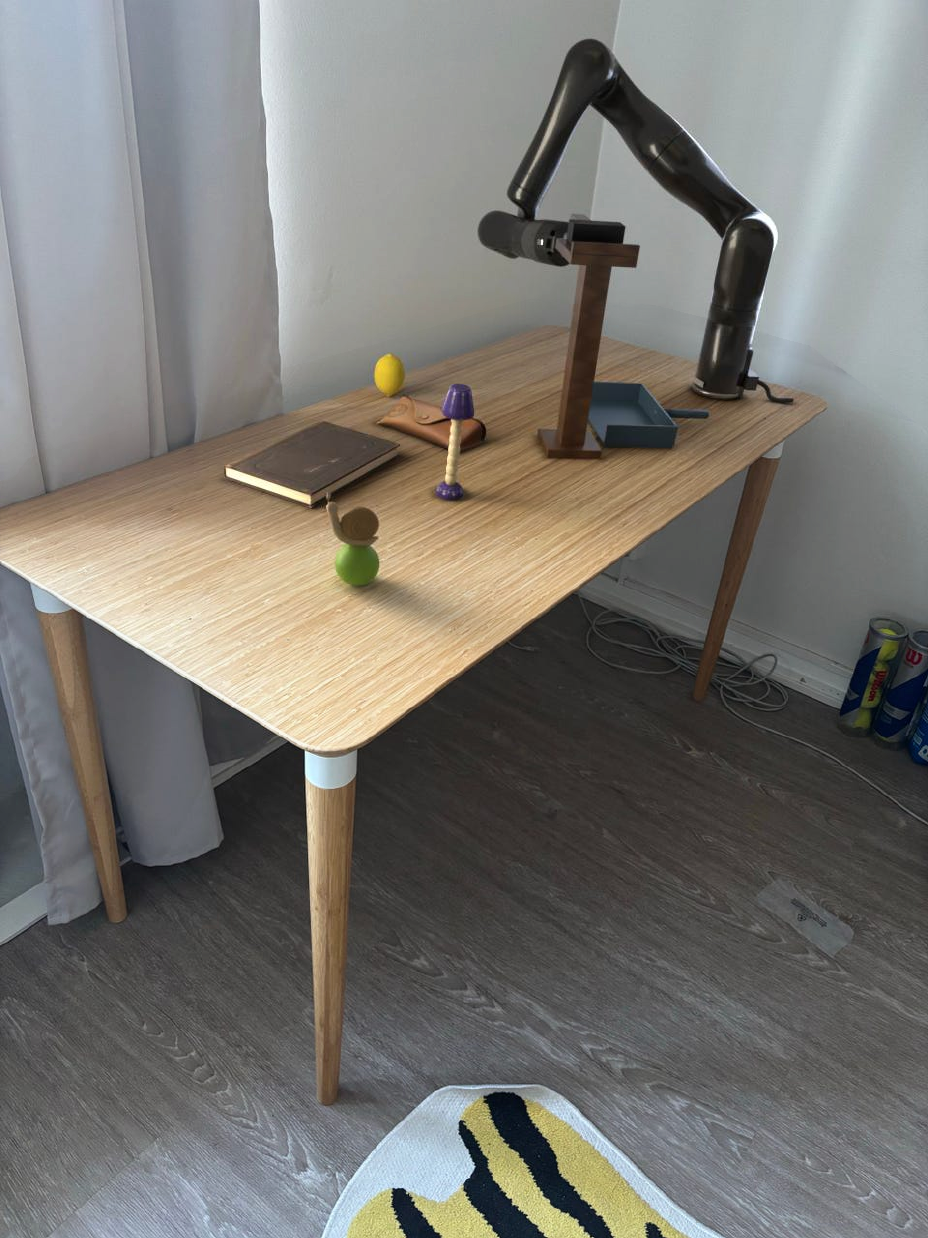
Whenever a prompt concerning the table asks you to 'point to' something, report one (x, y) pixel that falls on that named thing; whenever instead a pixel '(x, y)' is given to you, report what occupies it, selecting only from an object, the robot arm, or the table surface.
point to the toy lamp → (455, 437)
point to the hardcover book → (313, 463)
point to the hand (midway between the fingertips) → (602, 250)
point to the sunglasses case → (431, 424)
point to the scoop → (634, 416)
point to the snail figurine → (355, 543)
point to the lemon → (389, 374)
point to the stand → (584, 344)
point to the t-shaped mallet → (594, 230)
